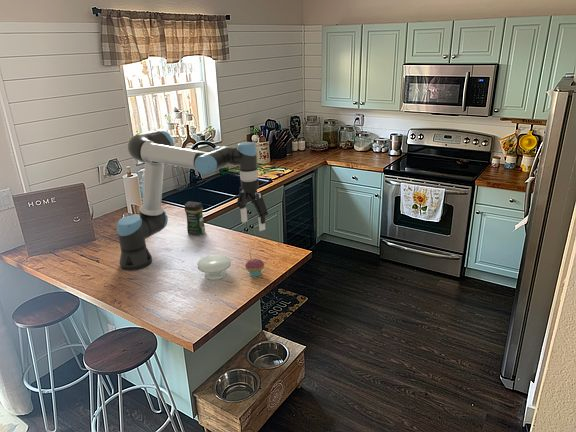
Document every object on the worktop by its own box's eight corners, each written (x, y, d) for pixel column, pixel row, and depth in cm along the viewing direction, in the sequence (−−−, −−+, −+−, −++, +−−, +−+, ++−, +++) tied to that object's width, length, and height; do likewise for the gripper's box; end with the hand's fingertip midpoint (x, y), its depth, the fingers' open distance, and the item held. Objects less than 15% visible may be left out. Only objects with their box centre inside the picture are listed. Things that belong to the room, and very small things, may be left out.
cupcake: (247, 279, 196) (246, 255, 191) (244, 271, 203) (242, 247, 199) (266, 276, 198) (265, 252, 193) (262, 268, 205) (261, 245, 201)
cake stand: (209, 286, 191) (207, 273, 189) (193, 274, 202) (191, 261, 200) (238, 275, 200) (237, 262, 198) (221, 264, 211) (219, 251, 209)
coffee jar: (185, 234, 246) (181, 203, 239) (193, 229, 253) (189, 199, 246) (200, 236, 242) (196, 205, 236) (207, 231, 249) (204, 200, 242)
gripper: (274, 183, 178) (277, 231, 185) (240, 172, 196) (244, 216, 204) (259, 187, 173) (263, 236, 181) (226, 175, 192) (230, 220, 199)
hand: (253, 225), depth 192 cm, fingers open, 13 cm apart
